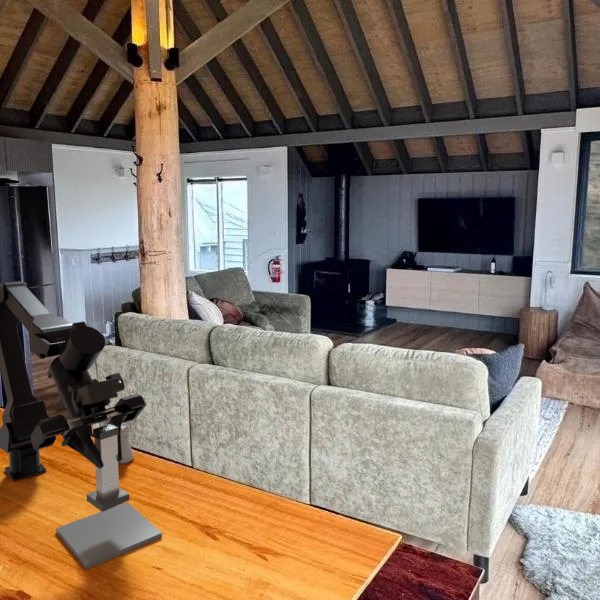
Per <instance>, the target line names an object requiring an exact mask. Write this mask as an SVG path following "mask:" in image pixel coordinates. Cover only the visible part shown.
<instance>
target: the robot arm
mask: <svg viewBox="0 0 600 600" xmlns="http://www.w3.org/2000/svg"><path fill="white" fill-rule="evenodd" d="M20 323H21V324H22V325H23V327H24V328H25V329H26V330H27V331H28V333H29V341H28V344H29V346H30V349H31V351H32V353H34V354H35V356H36V357H37V358H39V359H40V360H42V359H49V358H54V357H55V358H54V359H53V360H52V362H50V365H49V368H48V371H47V378H48V379H53V382H54V384H55V386H56V389H57V391H58V393H59V395H60V399H59V401H58V402H59V404H60V406H61V407H65V409H66V411H67V413H68V416H69V418H68V419H66V418H65V416H64V415H62V414H57V415H54V416H49V414H48V411H47V407H46V403H45V402H44V400H39V399H38V397H36V396H35V395H34V394H33V390H32V386H31V382H30V378H29V373H28V369H27V365H26V360H25V356H24V352H23V347H22V344H21V343H22V342H21V339H20V335H19V330H18V327H19V324H20ZM105 347H106V339H105V336H104V334H103V333H101V332H100V331H99V330H98V329H96V328H94V327H92V326H88V325H87V324H86V321H78V322H73V323H71V322H70V321H68V320H67V319H66V318H64V317H60V316H56V315H53V314H52V313H51V312H50V311H49V310H48V309H47V308H46V307H45V306H44V305H43V303H41V301H40V300H39V299H38V298H37V297H36V296H35V295H34V294H33V292H32V291H31V290H30V288H29V284H28V283H27V282H25V281H21V280H19V281H7V282H1V283H0V374H1V378H2V384H3V387H4V392H5V395H6V401H7V402H6V405H5V407H4V410H3V412H2V415H1V420H2V425H1V426H0V449H1V450H2V451H3V452H5V453H6V454H8V460H9V461H8V462H9V466H5V467H4V472H5V473H6V474H7V475H8V476H9V478H10V479H11V480H12V481H14V482H15V481H19V480H22V479H25V478H28V477H32V476H36V475H40V474H43V473H45V472H47V468H46V467H45V465H43V464H42V463H41V459H40V456H41V455H40V450H41V449H44V448H48V447H51V446H53V445H54V444H55V441H56V439H57V437H56V436H59V435H60V436H61V437H62V439H63V440H62V442H61V447H69V448H70V449H71V450H74V451H75V452H77V453H78V454H80V455H82V456H83V457H84V458H85V460H86V459H87V461H89V462H90V463H92V465H94V466H95V468H96V467H98V468H99V469H101V468H102V467H103V466H104V465H103V462H102V459H101V456H100V454H99V452H98V450H97V448H96V446H95V441H94V440H93V437H92V435H91V432H90V426H93V425H96V424H100V423H101V424H102V426H105V425H108V424H113V425H115V426H117V427H118V432H119V434H118V435H117V441H118V462H120V461H121V460H122V450H121V426H122V425H123V423H125V424H127V423H129V422H133V421H134V420H136V419H137V418H138V416H139V415H140V414H141V413H142V411H143V410H144V409H145V408H146V406H147V405H148V404H147V402H146V400H145V398H144V396H142V395H141V394H138V393H135V394H131V395H127V396H124V397H123V396H122V397H120V399H119V400H118V401H117V402H116V404H115V405H114V406H111V407H108V408H106V406H109V405H110V403H111V402H112V401H111V399H115V398H118V397H119V394H118V393H120V392H122V391H124V390H125V388H126V385H125V382H124V379H123V377H122V376H121V373H119V372H116V373H111V374H109V375H106V376H105V380H102V381H99V380H98V379H97V378H93V379H92V376H91V374H90V372H89V370H90V369H91V368H92V367H93V366H94V364H95V362H96V361H97V359H98V358H99V356H100V354H101V353H102V352H103V350H104V348H105Z"/></svg>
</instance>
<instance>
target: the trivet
mask: <svg viewBox="0 0 600 600" xmlns="http://www.w3.org/2000/svg"><path fill="white" fill-rule="evenodd" d="M55 532H56V534H57V535H58V536H59V537H60V539H61V540H62V541H63V542H64V544H65V545H66V546H67V547H68V549H69V548H70V549H69V550H70V551H71V552H72V553H73V555H74V556H75V557H76V559H77V560H78V559H79V560H78V561H79V563H80V564H82V566H83V567H84V568H85V569H86V570H88V569H91V568H93V567H96V566H97V565H100V564H102V563H105V562H106V561H109V560H111V559H114V558H117V557H118V556H121V555H123V554H125V553H128V552H130V551H133V550H135V549H137V548H140V547H142V546H144V545H147V544H149V543H151V542H154V541H156V540H158V539H161V538H162V537H163V532H162V531H161V530H160V529H159V528H158V527H156V526H155V525H154V524H153V523H152V522H151V521H149V520H148V519H147V518H146V517H145V516H144V515H143V514H141V513H140V512H139V510H137V509H136V508H135V507H134V506H133V505H131V504H130V503H129V501H127V502H124V503H122V504H120V505H117V506H115V507H113V508H110V509H108V510H106V511H103V512H102V511H99V512H97V513H94V514H91V515H88V516H85V517H82V518H79V519H77V520H74V521H72V522H69V523H66V524H63V525H61V526H59V527H55ZM90 567H91V568H90Z"/></svg>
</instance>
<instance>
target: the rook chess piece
mask: <svg viewBox="0 0 600 600" xmlns="http://www.w3.org/2000/svg"><path fill="white" fill-rule="evenodd" d="M130 430H131V427H129V424H128V423H122V424H121V450H122V460H121V461H120V462H118V465H119V464H128V463H130V462H132V460H133V459H134V458H135V455H134V450H133V449H132V447H131V445H130V434H129V432H130Z"/></svg>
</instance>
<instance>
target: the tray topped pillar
mask: <svg viewBox="0 0 600 600" xmlns="http://www.w3.org/2000/svg"><path fill="white" fill-rule="evenodd" d="M118 434H119V432H118V427H117V426H115V425H113V424H108V425H105V426H103V425H102V426H99V427H96V428H93V429H92V436H93V438H94V444H95V446H96V448H97V450H98V452H99V454H100V456H101V459H102V462H103V465H104V466H103V467H102V468H101V469H99V468H98V467H96V466H95V483H96V484H95V485H96V490H94V491H92V492H88V493H86V502H88V503H89V504H91V505H92V506H94V507H95V508H96V509H98V510H99V512H103V511H106V510H108V509H110V508H113V507H115V506H118V505H121V504H123V503H126V502H129V501H130V493H128V492H127V491H126V490H124V489H122V488H121V487H120V481H119V480H120V478H119V477H120V476H119V463H118V441H117V435H118Z"/></svg>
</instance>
